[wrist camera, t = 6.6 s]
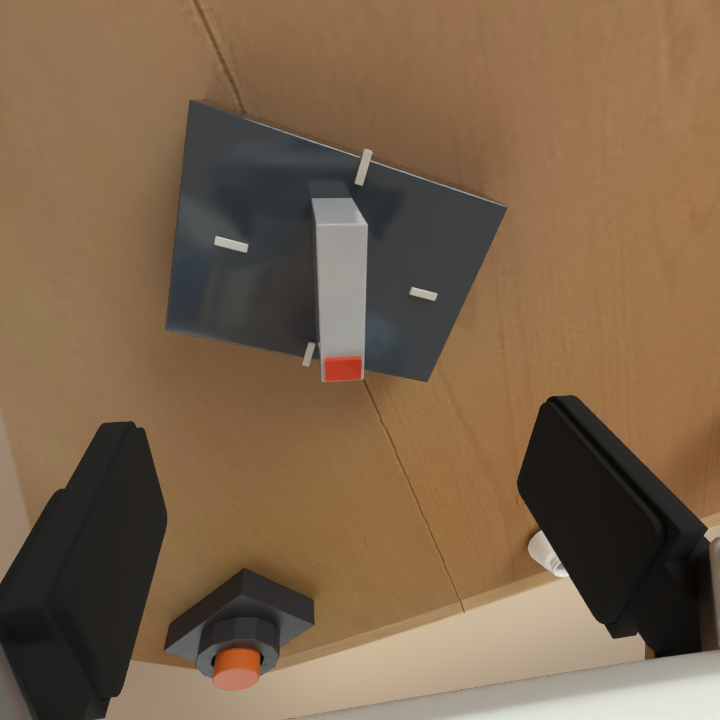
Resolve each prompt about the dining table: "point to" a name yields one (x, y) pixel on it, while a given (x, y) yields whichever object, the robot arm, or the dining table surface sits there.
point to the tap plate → (295, 242)
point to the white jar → (546, 555)
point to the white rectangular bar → (339, 287)
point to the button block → (240, 622)
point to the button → (236, 668)
